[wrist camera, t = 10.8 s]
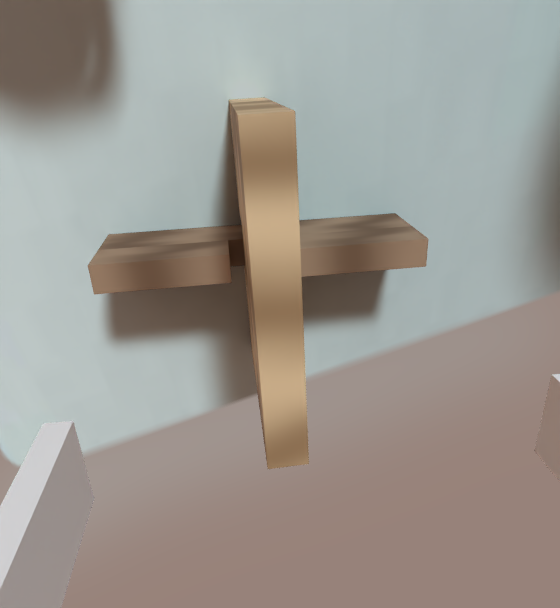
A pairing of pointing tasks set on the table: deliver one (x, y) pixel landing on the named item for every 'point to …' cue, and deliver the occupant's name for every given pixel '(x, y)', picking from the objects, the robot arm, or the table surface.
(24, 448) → the table surface
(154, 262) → the standing plate
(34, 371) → the table surface
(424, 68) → the table surface
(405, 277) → the table surface
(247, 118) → the cross plate
